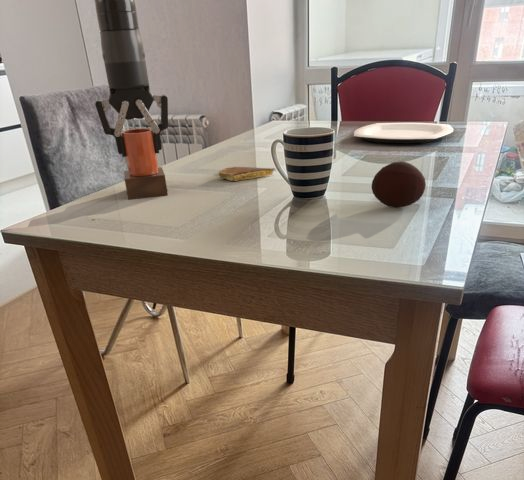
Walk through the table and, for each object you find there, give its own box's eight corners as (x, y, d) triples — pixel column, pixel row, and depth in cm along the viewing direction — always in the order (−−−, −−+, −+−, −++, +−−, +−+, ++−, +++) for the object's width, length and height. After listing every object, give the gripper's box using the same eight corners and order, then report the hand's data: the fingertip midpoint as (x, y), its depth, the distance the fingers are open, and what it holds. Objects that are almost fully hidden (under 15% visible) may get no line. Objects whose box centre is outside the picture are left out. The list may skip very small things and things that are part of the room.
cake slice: (275, 175, 114) (274, 167, 113) (261, 183, 108) (261, 175, 107) (231, 173, 118) (231, 165, 117) (216, 181, 112) (215, 172, 111)
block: (128, 199, 103) (124, 179, 101) (127, 190, 109) (123, 170, 107) (167, 195, 104) (164, 175, 102) (164, 185, 111) (161, 166, 109)
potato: (417, 216, 85) (423, 168, 81) (363, 211, 88) (366, 165, 84) (427, 203, 91) (433, 158, 87) (376, 199, 94) (379, 155, 90)
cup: (129, 177, 102) (121, 134, 97) (128, 171, 107) (121, 130, 102) (159, 174, 103) (153, 131, 98) (157, 168, 108) (151, 127, 103)
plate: (370, 128, 160) (370, 121, 159) (459, 130, 150) (460, 123, 148) (341, 144, 140) (342, 136, 139) (442, 148, 129) (443, 140, 128)
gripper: (162, 56, 98) (174, 147, 107) (85, 61, 96) (104, 154, 105) (165, 57, 92) (178, 154, 101) (83, 62, 89) (104, 161, 98)
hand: (140, 154), depth 103 cm, fingers closed on cup, 6 cm apart
